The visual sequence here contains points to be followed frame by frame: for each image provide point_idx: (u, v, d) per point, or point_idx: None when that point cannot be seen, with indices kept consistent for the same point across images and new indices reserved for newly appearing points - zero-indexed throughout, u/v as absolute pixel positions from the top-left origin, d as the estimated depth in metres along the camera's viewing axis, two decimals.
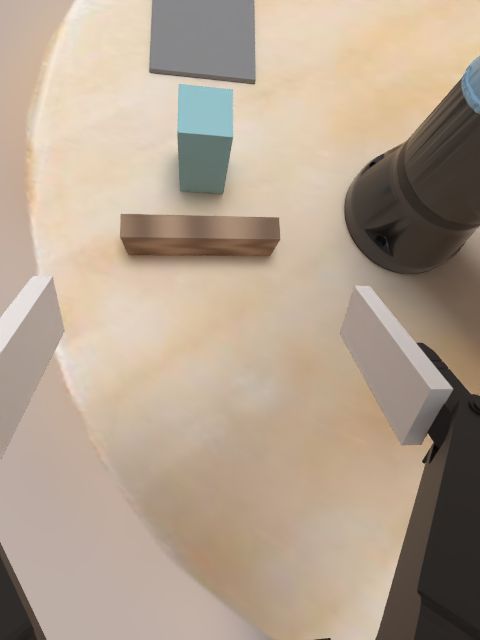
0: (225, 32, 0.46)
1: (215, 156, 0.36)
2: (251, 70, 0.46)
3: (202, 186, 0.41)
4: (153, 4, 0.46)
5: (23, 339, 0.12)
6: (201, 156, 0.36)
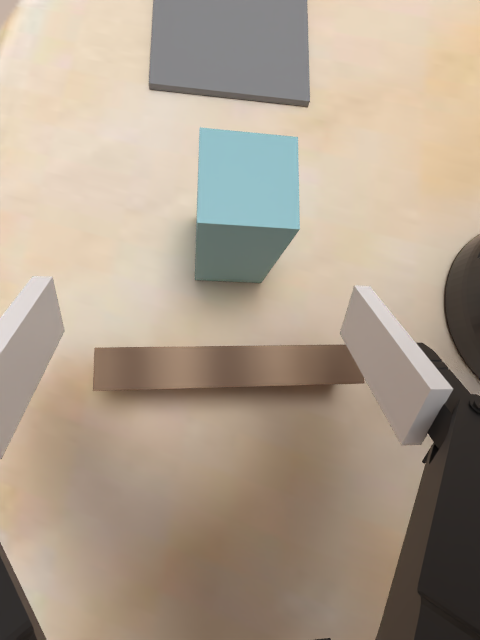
0: (264, 28, 0.31)
1: (260, 249, 0.21)
2: (303, 86, 0.30)
3: (231, 276, 0.26)
4: None
5: (24, 339, 0.12)
6: (235, 249, 0.21)
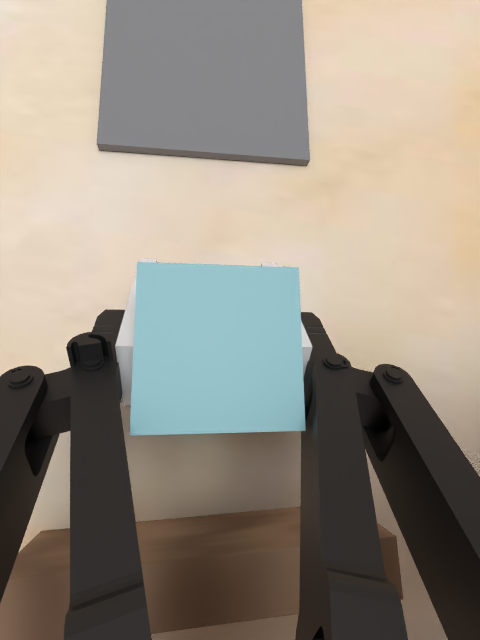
0: (249, 66, 0.24)
1: None
2: (301, 141, 0.23)
3: None
4: (108, 12, 0.23)
5: None
6: None
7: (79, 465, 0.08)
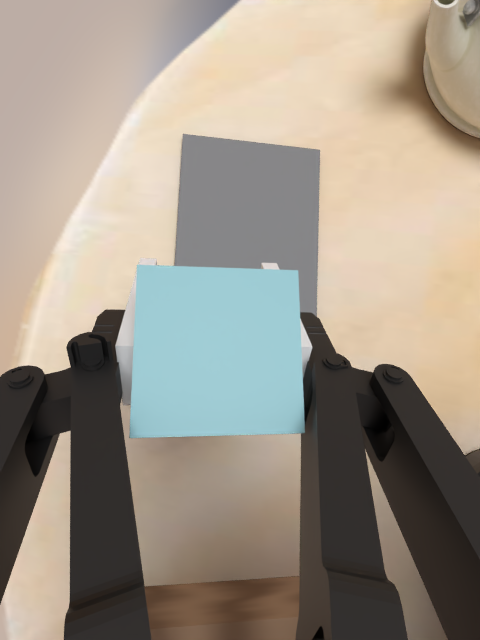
0: (277, 264, 0.33)
1: None
2: None
3: None
4: (178, 225, 0.32)
5: None
6: None
7: (79, 465, 0.08)
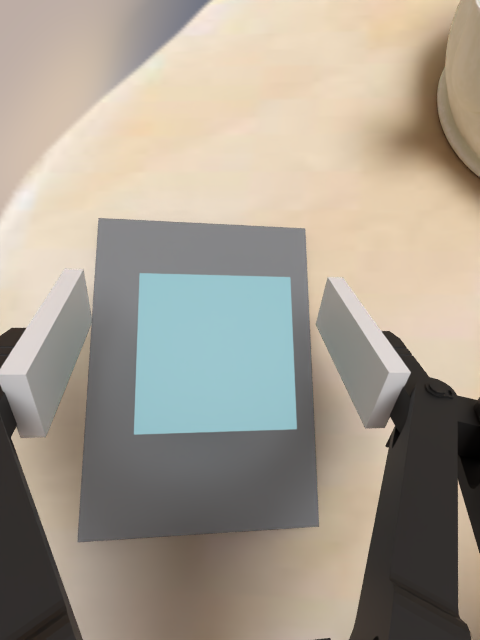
0: None
1: None
2: (309, 502, 0.21)
3: None
4: (91, 360, 0.21)
5: (62, 326, 0.13)
6: None
7: None
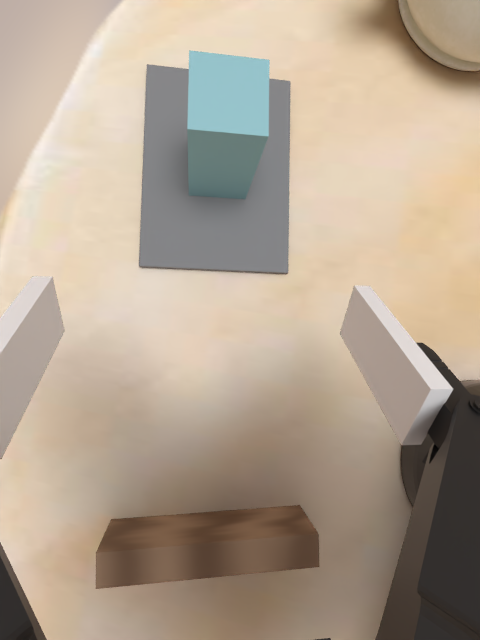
0: (247, 199, 0.33)
1: (240, 159, 0.26)
2: (282, 258, 0.33)
3: (219, 191, 0.31)
4: (144, 159, 0.32)
5: (24, 339, 0.12)
6: (220, 159, 0.26)
7: None
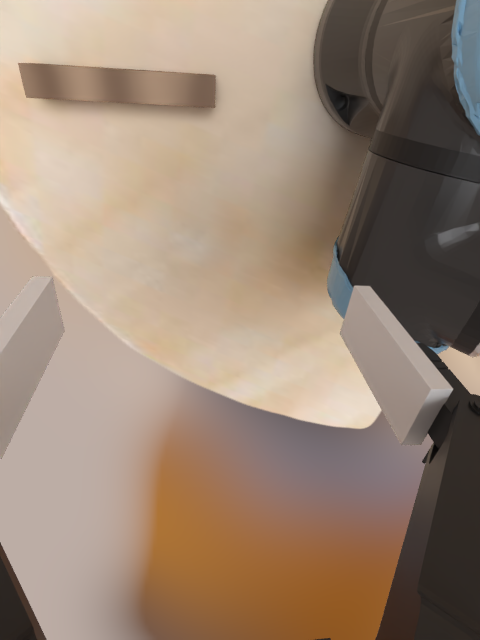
0: None
1: None
2: None
3: None
4: None
5: (23, 338, 0.12)
6: None
7: None
